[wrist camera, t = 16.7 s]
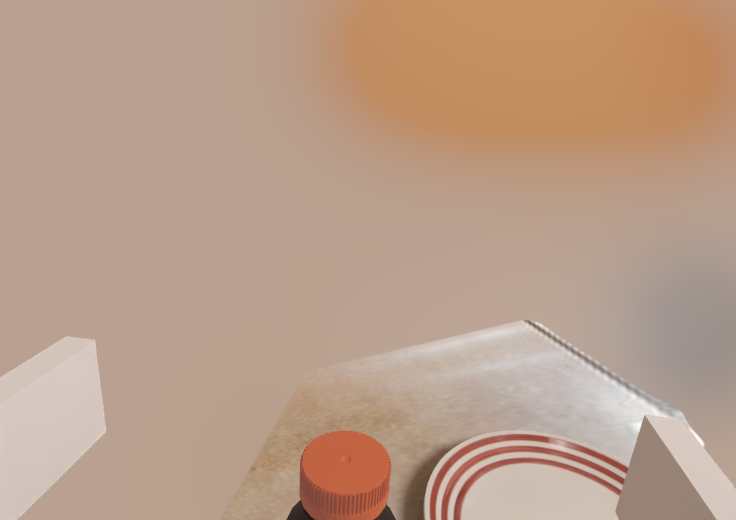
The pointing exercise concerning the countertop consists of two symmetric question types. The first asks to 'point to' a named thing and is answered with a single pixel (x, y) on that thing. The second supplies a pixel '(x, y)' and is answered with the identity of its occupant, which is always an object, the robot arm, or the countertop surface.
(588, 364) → the countertop surface
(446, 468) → the dinner plate
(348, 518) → the vinegar
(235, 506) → the countertop surface
